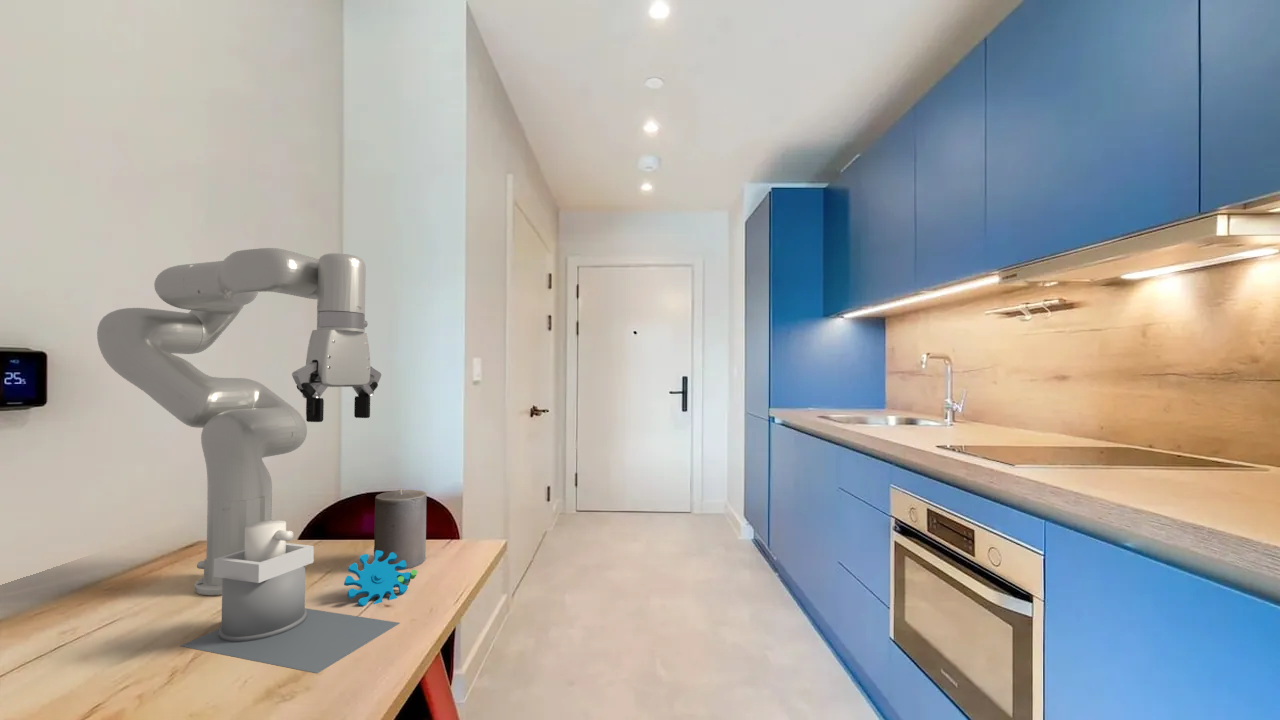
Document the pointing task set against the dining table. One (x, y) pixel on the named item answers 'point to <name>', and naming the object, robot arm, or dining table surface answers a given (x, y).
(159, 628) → the dining table surface
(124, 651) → the dining table surface
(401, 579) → the gear
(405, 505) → the pillar candle
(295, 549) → the motor stand
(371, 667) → the dining table surface
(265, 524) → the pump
